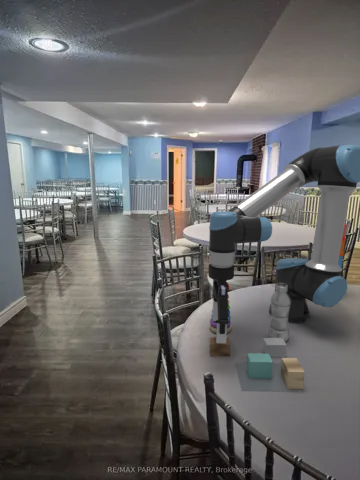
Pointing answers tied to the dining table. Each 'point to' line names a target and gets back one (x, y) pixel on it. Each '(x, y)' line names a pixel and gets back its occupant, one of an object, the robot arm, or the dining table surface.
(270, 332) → the plastic bottle
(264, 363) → the teal block
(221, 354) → the walnut block
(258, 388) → the slate board
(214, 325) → the stacking toy
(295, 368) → the oak block
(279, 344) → the grey block
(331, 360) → the dining table surface
